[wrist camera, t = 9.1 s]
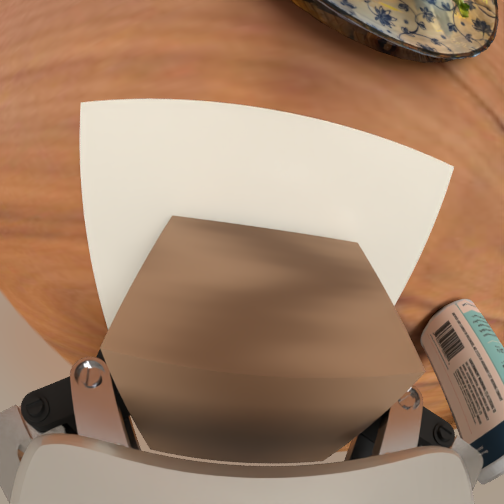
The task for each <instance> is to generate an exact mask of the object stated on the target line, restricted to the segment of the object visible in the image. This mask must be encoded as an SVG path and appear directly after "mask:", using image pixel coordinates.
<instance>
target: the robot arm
mask: <svg viewBox="0 0 504 504" xmlns="http://www.w3.org/2000/svg"><path fill="white" fill-rule="evenodd" d="M454 435H455V434H454V430H453V428H452V426H451V425H450V424H449V423H448V422H446V421H445V420H443V419H442V418H440V417H439V416H437V415H436V414H434V413H433V412H431V411H429V410H428V409H426V408H425V407H423V397H422V394H421V393H420V391H419V390H418V389H417V388H416V387H415V386H412V387H411V388H410V389H409V390H408V391H407V392H406V393H405V394H404V395H403V396H402V397H401V398H400V399H399V400H398V401H397V402H396V403H395V404H393V405H392V406H391V407H390V408H389V409H388V410H387V411H386V412H385V413H384V414H383V415H381V416H380V417H379V418H378V419H377V420H376V421H375V422H373V423H372V424H371V425H370V426H369V427H368V428H366V429H365V430H364V431H363V432H361V433H360V434H359V435H358V436H356V437H355V438H354V439H353V440H352V441H351V444H350V447H349V449H348V452H347V455H346V457H345V460H344V461H342V462H334V463H326V464H314V465H300V466H241V465H227V464H216V463H207V462H198V461H192V460H185V459H178V458H173V457H168V456H163V455H158V454H153V453H149V452H144V451H141V449H140V446H139V443H138V440H137V437H136V434H135V431H134V428H133V424H132V421H131V418H130V413H129V411H128V409H127V407H126V405H125V403H124V401H123V399H122V397H121V395H120V393H119V391H118V389H117V387H116V384H115V382H114V380H113V378H112V376H111V373H110V371H109V369H108V366H107V364H106V362H105V359H104V357H103V354H102V352H101V349H100V350H99V352H98V355H97V357H85V358H81V359H80V360H78V361H77V362H76V363H75V364H74V365H73V366H72V369H71V371H70V377H67V378H65V379H62V380H60V381H57V382H55V383H53V384H50V385H48V386H45V387H43V388H40V389H38V390H35V391H32V392H30V393H29V394H27V395H26V396H25V398H24V399H23V401H22V403H21V406H19V407H18V406H17V405H14V406H12V407H10V408H9V409H6V410H4V411H2V412H0V486H1V488H2V490H3V492H4V494H5V496H6V498H7V499H8V501H9V503H10V504H475V503H474V497H473V492H472V491H473V489H474V486H475V484H476V482H477V479H478V477H479V474H480V472H481V469H482V466H483V458H482V455H481V454H480V453H479V452H478V451H477V450H476V449H474V448H473V447H472V446H470V445H469V444H468V443H467V442H465V441H464V440H463V439H461V438H460V437H458V436H456V437H455V436H454Z"/></svg>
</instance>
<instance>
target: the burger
mask: <svg viewBox="0 0 504 504" xmlns="http://www.w3.org/2000/svg"><path fill="white" fill-rule="evenodd" d="M291 1H292V2H293V3H294V4H296V5H297V6H299V7H300V8H302V9H303V10H305V11H306V12H308V13H309V14H311V15H312V16H314V17H315V18H316V19H318V20H319V21H320V22H322V23H324V24H326V25H328V26H329V27H331V28H333V29H335V30H336V31H338V32H340V33H342V34H343V35H345V36H347V37H348V38H351V39H353V40H355V41H357V42H360V43H362V44H364V45H366V46H368V47H370V48H373V49H375V50H377V51H380V52H383V53H386V54H390V55H392V56H396V57H398V58H401V59H407V60H413V61H418V62H423V63H426V62H447V61H451V60H454V59H460V58H466V57H475V56H477V55H478V54H480V53H481V52H483V51H484V50H486V49H488V47H489V46H490V44H491V43H492V42H493V40H494V38H495V36H496V30H497V26H498V5H497V0H291Z"/></svg>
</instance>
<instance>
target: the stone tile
mask: <svg viewBox="0 0 504 504" xmlns="http://www.w3.org/2000/svg"><path fill="white" fill-rule="evenodd" d="M453 169H454V167H453V166H451V165H449V164H447V163H445V162H443V161H441V160H439V159H436V158H434V157H432V156H430V155H427V154H425V153H422V152H420V151H418V150H415V149H413V148H410V147H407V146H405V145H402V144H399V143H397V142H394V141H391V140H388V139H386V138H383V137H380V136H377V135H374V134H371V133H367V132H364V131H361V130H358V129H354V128H351V127H347V126H344V125H340V124H337V123H333V122H329V121H325V120H321V119H317V118H312V117H308V116H304V115H299V114H294V113H289V112H284V111H279V110H273V109H267V108H261V107H255V106H248V105H240V104H232V103H223V102H213V101H201V100H185V99H115V100H100V101H90V102H82V103H81V111H80V170H81V187H82V199H83V209H84V217H85V225H86V232H87V239H88V245H89V251H90V257H91V262H92V267H93V272H94V277H95V281H96V286H97V290H98V294H99V298H100V302H101V306H102V310H103V314H104V317H105V321H106V324H107V328H108V330H109V328H110V326H111V324H112V322H113V320H114V317H115V315H116V313H117V312H118V310H119V308H120V306H121V304H122V302H123V300H124V298H125V296H126V294H127V292H128V290H129V288H130V287H131V285H132V283H133V281H134V279H135V277H136V276H137V274H138V272H139V270H140V268H141V267H142V265H143V263H144V261H145V260H146V258H147V256H148V254H149V253H150V251H151V249H152V248H153V246H154V244H155V243H156V241H157V239H158V238H159V236H160V234H161V233H162V231H163V229H164V228H165V226H166V225H167V223H168V221H169V220H170V218H171V217H172V216H181V217H189V218H196V219H204V220H212V221H219V222H227V223H234V224H241V225H248V226H255V227H262V228H269V229H276V230H282V231H289V232H296V233H302V234H308V235H315V236H321V237H327V238H333V239H339V240H345V241H351V242H357V243H358V244H359V246H360V247H361V249H362V251H363V252H364V254H365V255H366V257H367V259H368V260H369V262H370V264H371V266H372V267H373V269H374V271H375V272H376V274H377V276H378V278H379V279H380V281H381V283H382V285H383V287H384V288H385V290H386V292H387V294H388V296H389V297H390V299H391V301H392V303H393V305H395V304H396V302H397V300H398V298H399V296H400V295H401V293H402V291H403V289H404V287H405V285H406V283H407V281H408V279H409V277H410V276H411V274H412V272H413V270H414V267H415V265H416V263H417V261H418V259H419V257H420V255H421V253H422V251H423V248H424V246H425V244H426V242H427V239H428V237H429V235H430V232H431V230H432V228H433V225H434V223H435V220H436V218H437V215H438V212H439V210H440V207H441V204H442V202H443V199H444V196H445V193H446V190H447V187H448V184H449V181H450V178H451V175H452V172H453Z"/></svg>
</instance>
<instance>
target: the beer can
mask: <svg viewBox="0 0 504 504" xmlns="http://www.w3.org/2000/svg"><path fill="white" fill-rule="evenodd" d="M420 341H421V345H422V347H423V348H424V350H425V352H426V355H427V357H428V359H429V361H430V363H431V365H432V367H433V370H434V372H435V374H436V376H437V378H438V381H439V383H440V385H441V388H442V390H443V393H444V395H445V397H446V400H447V402H448V405H449V407H450V410H451V413H452V415H453V418H454V421H455V423H456V426H457V429H458V432H459V435H460V438H461V439H463V440H464V441H465V442H467V443H468V444H469V445H470V446H472V447H473V448H474V449H476V450H477V451H478V452H479V453H480V454H481V455H482V458H483V466H482V469H481V472H480V474H479V477H478V479H477V480H478V481H479V482H480V483H481V484H486V483H488V482H490V481H492V480H494V479H496V478H497V477H499V476H501V475H502V474H504V348H503V346H502V344H501V343H500V341H499V340H498V338H497V336H496V335H495V333H494V332H493V330H492V329H491V327H490V326H489V324H488V323H487V321H486V320H485V318H484V317H483V315H482V314H481V313H480V311H479V310H478V308H477V307H476V306H475V304H474V303H473V302H472V301H471V300H469V299H460V300H457V301H454V302H452V303H450V304H447V305H446V306H444V307H443V308H441V309H440V310H439V311H438V312H436V313H435V314H434V315H433V317H432V318H431V319H430V320H429V322H428V324H427V326H426V327H425V329H424V330H423V332H422V335H421V340H420Z"/></svg>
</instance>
